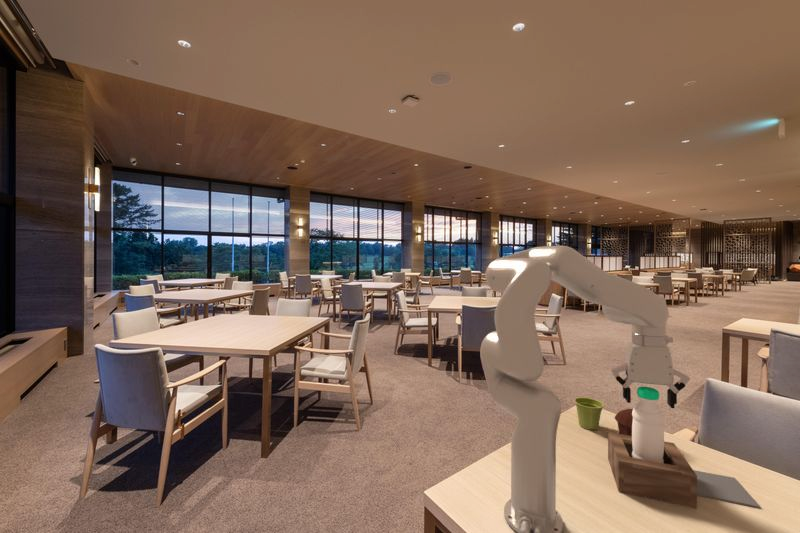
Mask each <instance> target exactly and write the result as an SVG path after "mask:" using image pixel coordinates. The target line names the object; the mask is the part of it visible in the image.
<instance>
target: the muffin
mask: <svg viewBox="0 0 800 533" xmlns="http://www.w3.org/2000/svg"><path fill="white" fill-rule="evenodd" d="M633 409H634V408H625V409H621V410H619V411H618V412H617V413H616V414H615V417H614V421H616V422H617V428H618V434H622V435H628V436H632V422H633V416H632V411H633Z"/></svg>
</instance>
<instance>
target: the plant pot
mask: <svg viewBox="0 0 800 533" xmlns="http://www.w3.org/2000/svg"><path fill="white" fill-rule="evenodd" d="M573 402H574V403H575V407H576V411H577V412H576V413H577V419H578V425H579V426H580V427H582V428H583V429H585V430H593V431H594V430H595V431H596V430H598V429H599V425H600V420H601V414H602V410H603V408H604V407H605V406H604V405H605V404H604V403H603V402H601V400H597V399H594V398H591V397H585V396H584V397H583V396H582V397H579V396H578V397H575V398H574V399H573Z"/></svg>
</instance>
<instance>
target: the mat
mask: <svg viewBox="0 0 800 533" xmlns="http://www.w3.org/2000/svg"><path fill="white" fill-rule="evenodd" d="M693 471H694V472H695V473H696V475H697V497H698V496H699V497H703V498H709V499H713V500H717V501H718V500H719V501H723V502H727V503H732V504H736V505H741V506H742V505H743V506H747V507H752V508H756V509H761V506H760V504H758V502H757V501H756V500H755V499H754V498H753V497H752V496H751V495H750V493H748V491H747V490H746V489H745V488H744V487H743V485H742V484H741V483H740V481H738V480H737V479H736V478H735V477H733V476H726V475H722V474H716V473H711V472H706V471H701V470H700V471H699V470H695V469H693Z"/></svg>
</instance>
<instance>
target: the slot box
mask: <svg viewBox="0 0 800 533" xmlns="http://www.w3.org/2000/svg"><path fill="white" fill-rule="evenodd" d="M607 444H608V445H607V459H608V460H607V461H608V463H609V466H610V469H611V472H612V476H613V479H614V482H615V485H616V488H617V491H618V492H619V493H622V494H623V493H624V494H629V495H631V496H632V495H633V496H637V497H642V498H647V499H651V500H655V501H660V502H664V503H668V504H669V503H670V504H673V505H678V506H682V507H687V508H691V509H696V510H697V509H698V507H697V506H698V495H697V475H696V473H695V472H694V471H693V470H694V469H693V468H692V466H691V465H690V464H689V462H688V461H687V459H686V458H685V457H684V455H683V454H682V452H681V451H680V449H679V448H678V447H677V445H676V444H675V443H674V442H671V441H670V442H669V441H664V453H663V460H664V463H659V462H654V461H648V460H643V459H638V458H632V451H633V447H632V436H628V435H622V434H619V433H615V432H610V431H608V432H607Z"/></svg>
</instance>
